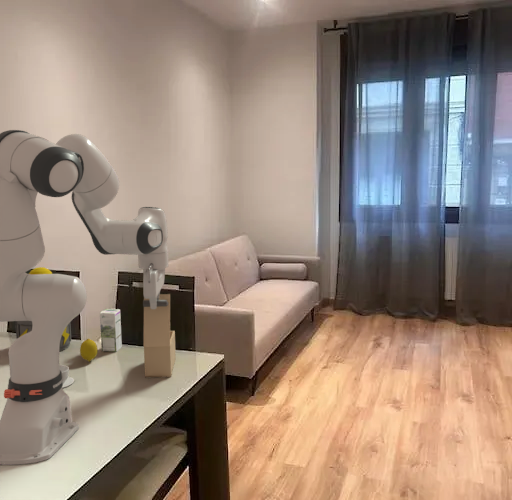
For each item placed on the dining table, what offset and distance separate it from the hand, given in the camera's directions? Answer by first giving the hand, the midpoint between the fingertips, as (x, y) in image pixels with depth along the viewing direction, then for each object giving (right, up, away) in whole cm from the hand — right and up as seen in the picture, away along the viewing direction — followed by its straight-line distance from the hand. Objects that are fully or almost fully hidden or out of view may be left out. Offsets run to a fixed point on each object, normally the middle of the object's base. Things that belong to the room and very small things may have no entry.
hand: (154, 306), depth 154 cm
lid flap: (0, -5, +4) cm, 6 cm away
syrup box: (-22, -19, +31) cm, 43 cm away
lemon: (-26, -21, +19) cm, 38 cm away
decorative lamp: (-47, -19, +33) cm, 61 cm away
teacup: (-30, -24, 0) cm, 38 cm away
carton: (-1, -22, +13) cm, 25 cm away
